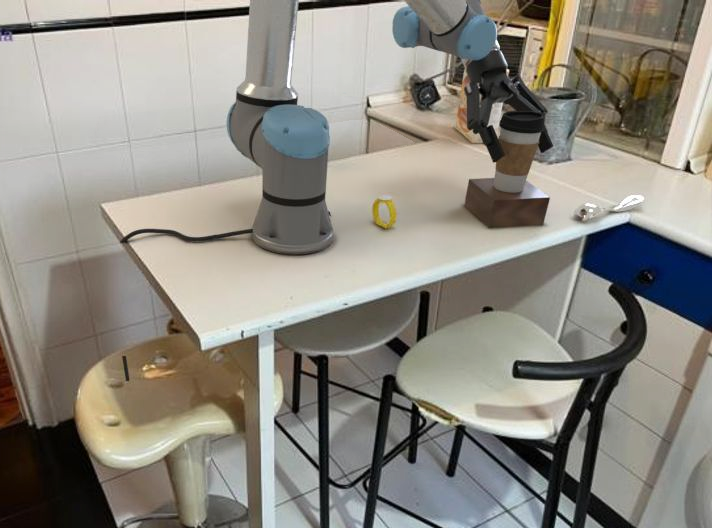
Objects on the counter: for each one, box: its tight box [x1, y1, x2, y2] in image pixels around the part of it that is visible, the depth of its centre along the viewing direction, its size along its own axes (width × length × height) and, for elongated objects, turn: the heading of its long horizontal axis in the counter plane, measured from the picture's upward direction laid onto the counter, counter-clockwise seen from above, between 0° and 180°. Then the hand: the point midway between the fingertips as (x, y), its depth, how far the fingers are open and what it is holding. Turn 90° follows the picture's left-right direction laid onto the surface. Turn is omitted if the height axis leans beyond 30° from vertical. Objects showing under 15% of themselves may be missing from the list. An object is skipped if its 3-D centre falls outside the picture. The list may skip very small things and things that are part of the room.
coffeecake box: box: [454, 67, 510, 144], centre depth 181 cm, size 15×7×20 cm, turn 6°
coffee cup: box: [493, 110, 546, 193], centre depth 130 cm, size 8×8×15 cm
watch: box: [371, 194, 397, 229], centre depth 129 cm, size 6×3×6 cm, turn 31°
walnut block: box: [463, 177, 551, 229], centre depth 136 cm, size 12×12×6 cm
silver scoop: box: [573, 195, 645, 222], centre depth 139 cm, size 20×4×5 cm
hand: (523, 154), depth 128 cm, fingers open, 13 cm apart
